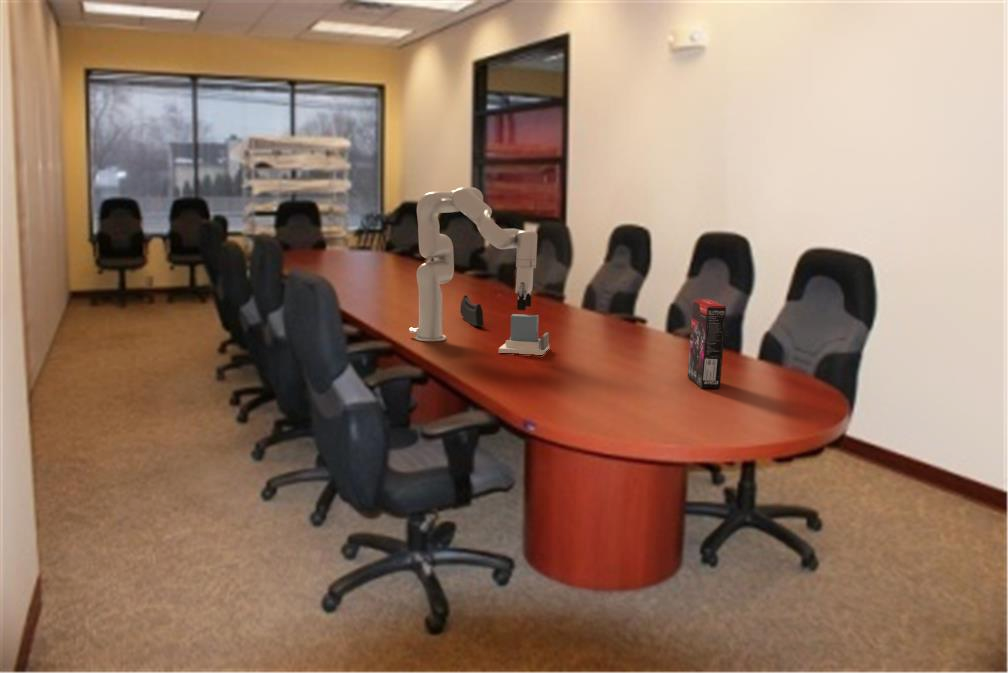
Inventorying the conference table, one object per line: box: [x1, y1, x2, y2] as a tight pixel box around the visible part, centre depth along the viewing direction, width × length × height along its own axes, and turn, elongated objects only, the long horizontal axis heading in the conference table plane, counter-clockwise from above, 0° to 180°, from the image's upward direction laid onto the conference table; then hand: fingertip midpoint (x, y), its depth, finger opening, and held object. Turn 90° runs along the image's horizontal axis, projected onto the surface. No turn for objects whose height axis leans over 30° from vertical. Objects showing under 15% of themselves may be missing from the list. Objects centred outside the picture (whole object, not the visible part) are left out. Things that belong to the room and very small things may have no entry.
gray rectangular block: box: [509, 313, 540, 342], centre depth 341 cm, size 10×4×12 cm, turn 77°
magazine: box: [459, 295, 484, 327], centre depth 404 cm, size 17×3×30 cm
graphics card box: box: [687, 298, 727, 389], centre depth 293 cm, size 17×7×27 cm, turn 5°
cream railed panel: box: [498, 332, 550, 356], centre depth 342 cm, size 17×14×7 cm
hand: (524, 308), depth 340 cm, fingers open, 9 cm apart
